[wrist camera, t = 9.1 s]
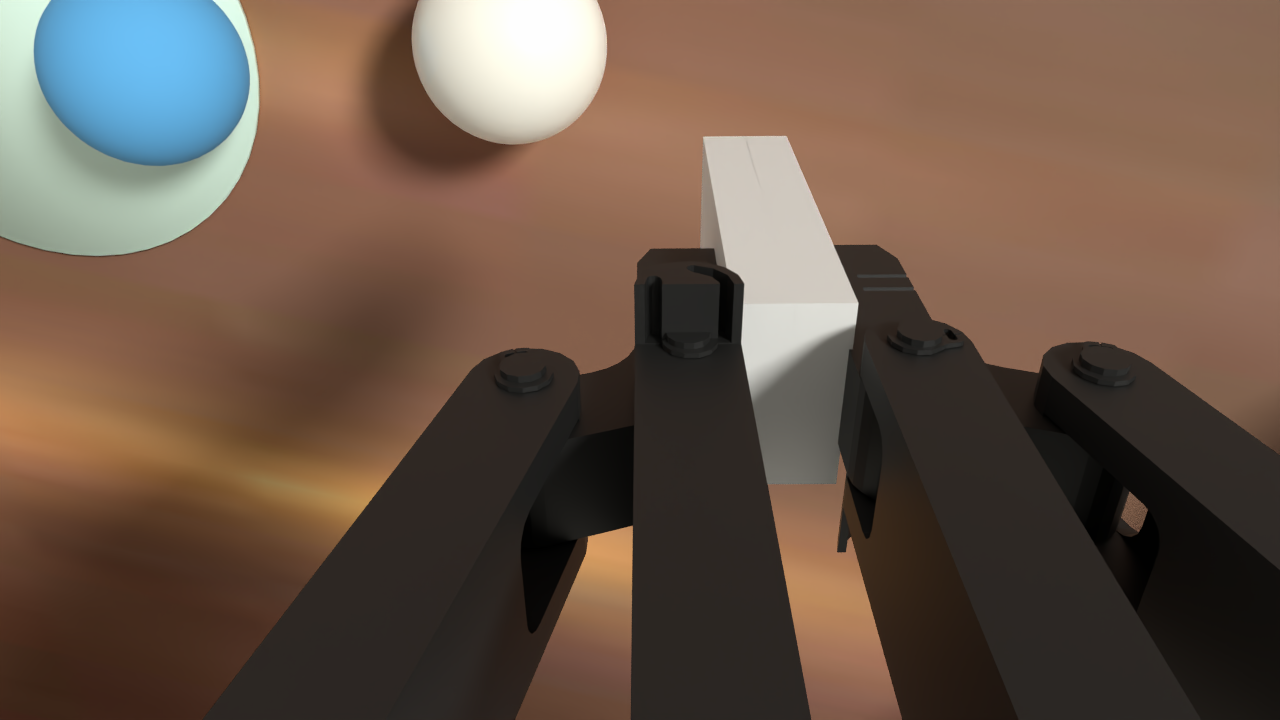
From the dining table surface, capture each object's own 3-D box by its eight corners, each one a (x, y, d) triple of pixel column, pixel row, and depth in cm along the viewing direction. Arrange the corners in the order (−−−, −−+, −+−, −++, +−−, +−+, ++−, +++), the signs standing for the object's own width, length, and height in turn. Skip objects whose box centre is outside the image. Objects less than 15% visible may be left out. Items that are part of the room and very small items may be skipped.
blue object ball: (164, -67, 23) (-4, -73, 25) (137, 150, 24) (-29, 132, 25) (299, 12, 29) (154, 4, 30) (276, 190, 29) (132, 173, 30)
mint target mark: (5, -328, 24) (0, -328, 24) (349, 127, 31) (348, 129, 30) (-312, -36, 28) (-318, -35, 28) (53, 318, 34) (50, 320, 34)
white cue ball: (481, -102, 22) (468, -106, 27) (372, 97, 24) (378, 60, 29) (664, 28, 25) (622, 4, 29) (554, 202, 26) (532, 152, 31)
